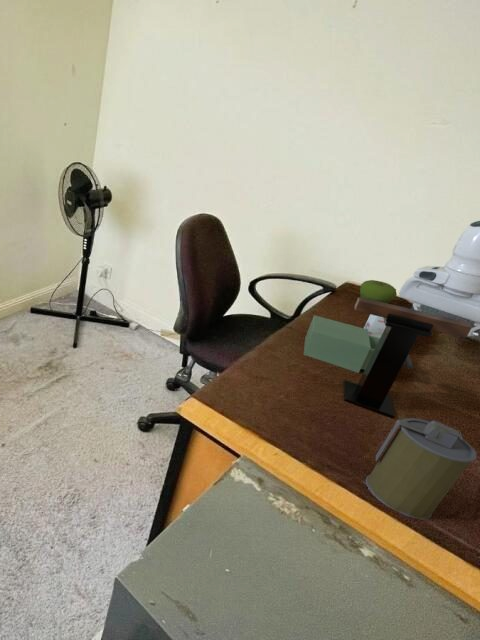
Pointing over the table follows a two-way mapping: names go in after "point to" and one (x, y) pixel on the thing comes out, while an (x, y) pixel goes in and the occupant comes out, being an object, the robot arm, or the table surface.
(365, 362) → the drawer
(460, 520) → the table surface
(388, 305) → the rod
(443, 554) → the table surface
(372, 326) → the ink box
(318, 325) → the cabinet
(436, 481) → the canister
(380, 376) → the stand
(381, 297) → the apple
